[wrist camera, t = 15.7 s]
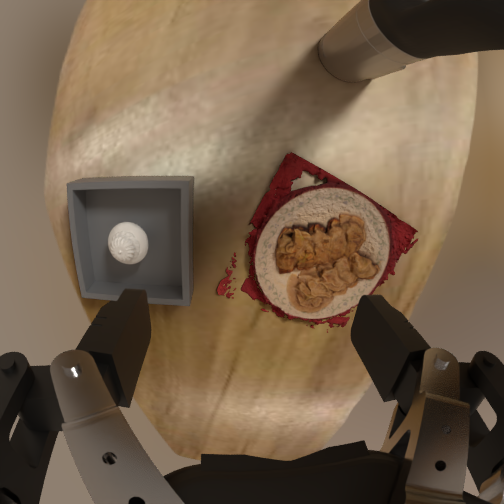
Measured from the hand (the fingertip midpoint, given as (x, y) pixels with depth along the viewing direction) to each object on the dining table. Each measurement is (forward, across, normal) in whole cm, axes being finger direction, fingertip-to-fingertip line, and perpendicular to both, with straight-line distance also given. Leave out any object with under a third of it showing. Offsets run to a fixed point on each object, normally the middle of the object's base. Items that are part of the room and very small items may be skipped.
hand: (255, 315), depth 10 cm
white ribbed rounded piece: (+31, +15, +8) cm, 35 cm away
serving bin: (+32, +15, +8) cm, 36 cm away
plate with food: (+33, -15, +11) cm, 38 cm away
